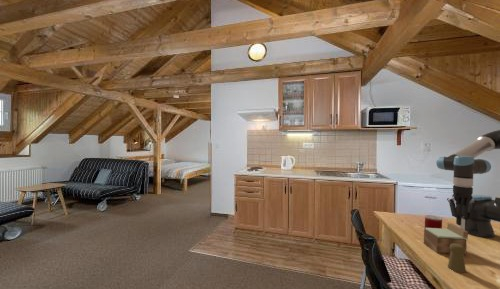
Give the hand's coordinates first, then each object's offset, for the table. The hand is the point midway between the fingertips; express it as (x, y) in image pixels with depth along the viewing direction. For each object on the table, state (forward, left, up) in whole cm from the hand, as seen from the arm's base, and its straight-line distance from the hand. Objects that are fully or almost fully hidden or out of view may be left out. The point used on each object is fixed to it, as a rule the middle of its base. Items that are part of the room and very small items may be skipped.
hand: (460, 231), depth 120 cm
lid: (+7, 0, -2) cm, 8 cm away
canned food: (+2, -18, -10) cm, 21 cm away
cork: (+15, +20, -10) cm, 27 cm away
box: (+8, 0, -10) cm, 13 cm away
